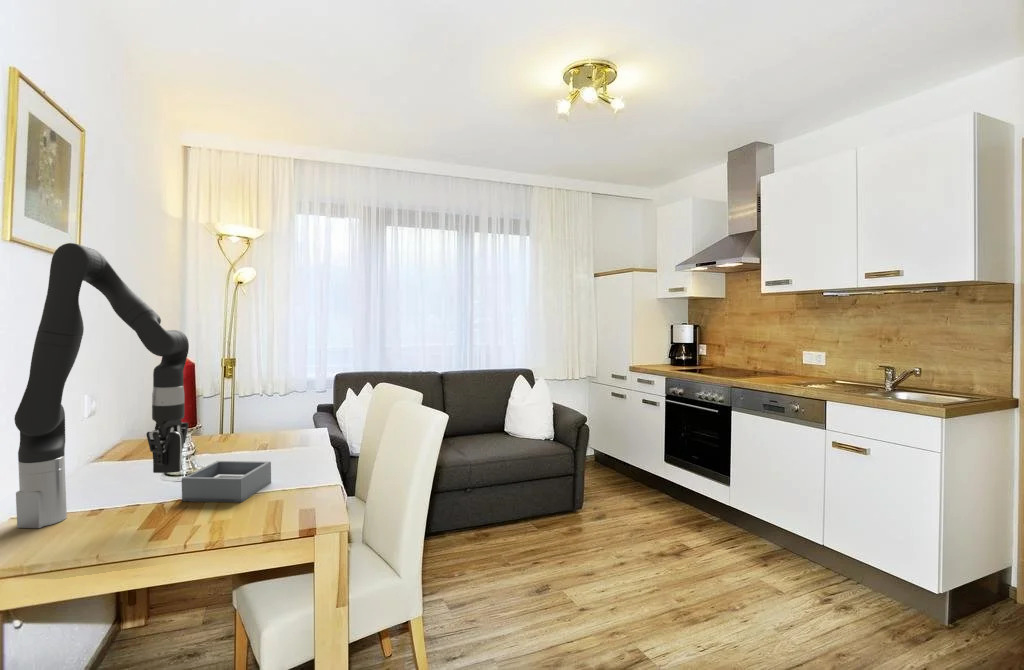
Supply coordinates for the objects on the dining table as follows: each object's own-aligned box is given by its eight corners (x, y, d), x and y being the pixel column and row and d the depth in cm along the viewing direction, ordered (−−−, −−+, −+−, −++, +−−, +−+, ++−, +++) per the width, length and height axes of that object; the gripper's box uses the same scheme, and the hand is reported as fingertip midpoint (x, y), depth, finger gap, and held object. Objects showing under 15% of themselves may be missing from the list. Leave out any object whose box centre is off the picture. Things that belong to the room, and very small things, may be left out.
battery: (185, 468, 148) (185, 428, 148) (179, 473, 145) (179, 432, 144) (158, 469, 147) (157, 429, 146) (151, 473, 143) (151, 432, 143)
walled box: (241, 502, 155) (241, 479, 155) (182, 501, 156) (181, 478, 155) (271, 482, 173) (270, 461, 173) (217, 481, 174) (217, 460, 173)
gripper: (163, 407, 138) (163, 471, 138) (198, 398, 152) (198, 457, 152) (135, 406, 138) (135, 470, 138) (173, 397, 152) (173, 456, 153)
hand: (168, 463), depth 145 cm, fingers closed on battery, 4 cm apart
